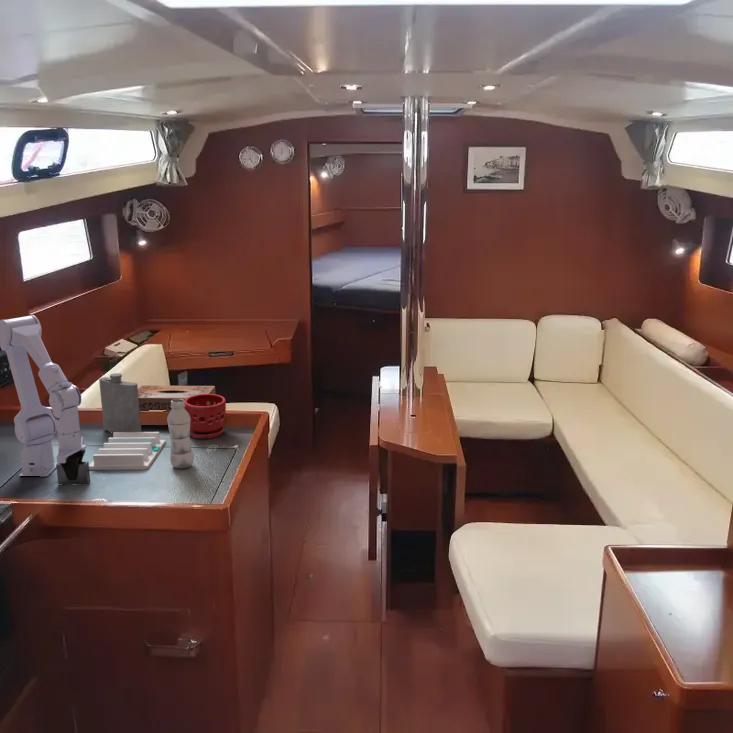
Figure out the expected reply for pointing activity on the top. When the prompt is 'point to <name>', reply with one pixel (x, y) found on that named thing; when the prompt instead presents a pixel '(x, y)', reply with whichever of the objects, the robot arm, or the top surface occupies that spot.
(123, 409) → the hip flask
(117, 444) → the slot rack
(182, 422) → the plastic bottle
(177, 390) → the tissue box cover
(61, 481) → the rectangular block
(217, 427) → the plant pot
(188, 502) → the top surface
